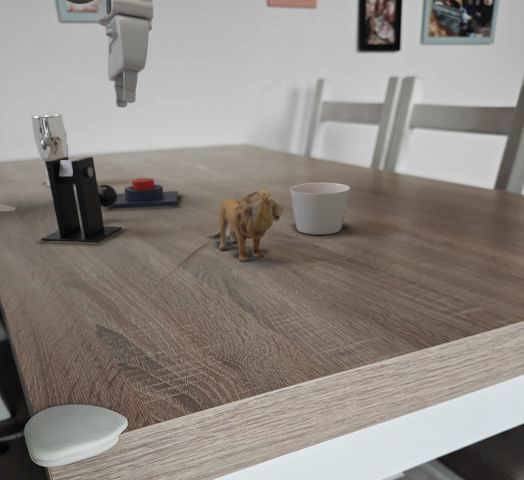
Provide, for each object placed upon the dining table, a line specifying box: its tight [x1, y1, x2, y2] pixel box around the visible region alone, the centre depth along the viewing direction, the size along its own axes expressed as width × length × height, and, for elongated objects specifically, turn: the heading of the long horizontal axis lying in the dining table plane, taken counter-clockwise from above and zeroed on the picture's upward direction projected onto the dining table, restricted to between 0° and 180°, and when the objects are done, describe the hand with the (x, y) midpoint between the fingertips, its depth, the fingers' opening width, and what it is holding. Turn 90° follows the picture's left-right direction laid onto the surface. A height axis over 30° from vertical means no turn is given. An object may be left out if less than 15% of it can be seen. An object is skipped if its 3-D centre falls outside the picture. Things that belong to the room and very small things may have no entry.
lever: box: [59, 159, 118, 209], centre depth 85 cm, size 13×4×4 cm, turn 167°
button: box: [131, 177, 155, 190], centre depth 103 cm, size 4×4×2 cm
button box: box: [108, 183, 180, 210], centre depth 104 cm, size 12×10×4 cm
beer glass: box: [31, 114, 69, 188], centre depth 126 cm, size 7×7×15 cm
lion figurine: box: [213, 189, 285, 262], centre depth 74 cm, size 15×5×9 cm, turn 35°
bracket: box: [41, 156, 123, 244], centre depth 81 cm, size 8×9×12 cm
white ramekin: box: [289, 182, 351, 236], centre depth 84 cm, size 9×9×6 cm
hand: (125, 104), depth 96 cm, fingers open, 8 cm apart
